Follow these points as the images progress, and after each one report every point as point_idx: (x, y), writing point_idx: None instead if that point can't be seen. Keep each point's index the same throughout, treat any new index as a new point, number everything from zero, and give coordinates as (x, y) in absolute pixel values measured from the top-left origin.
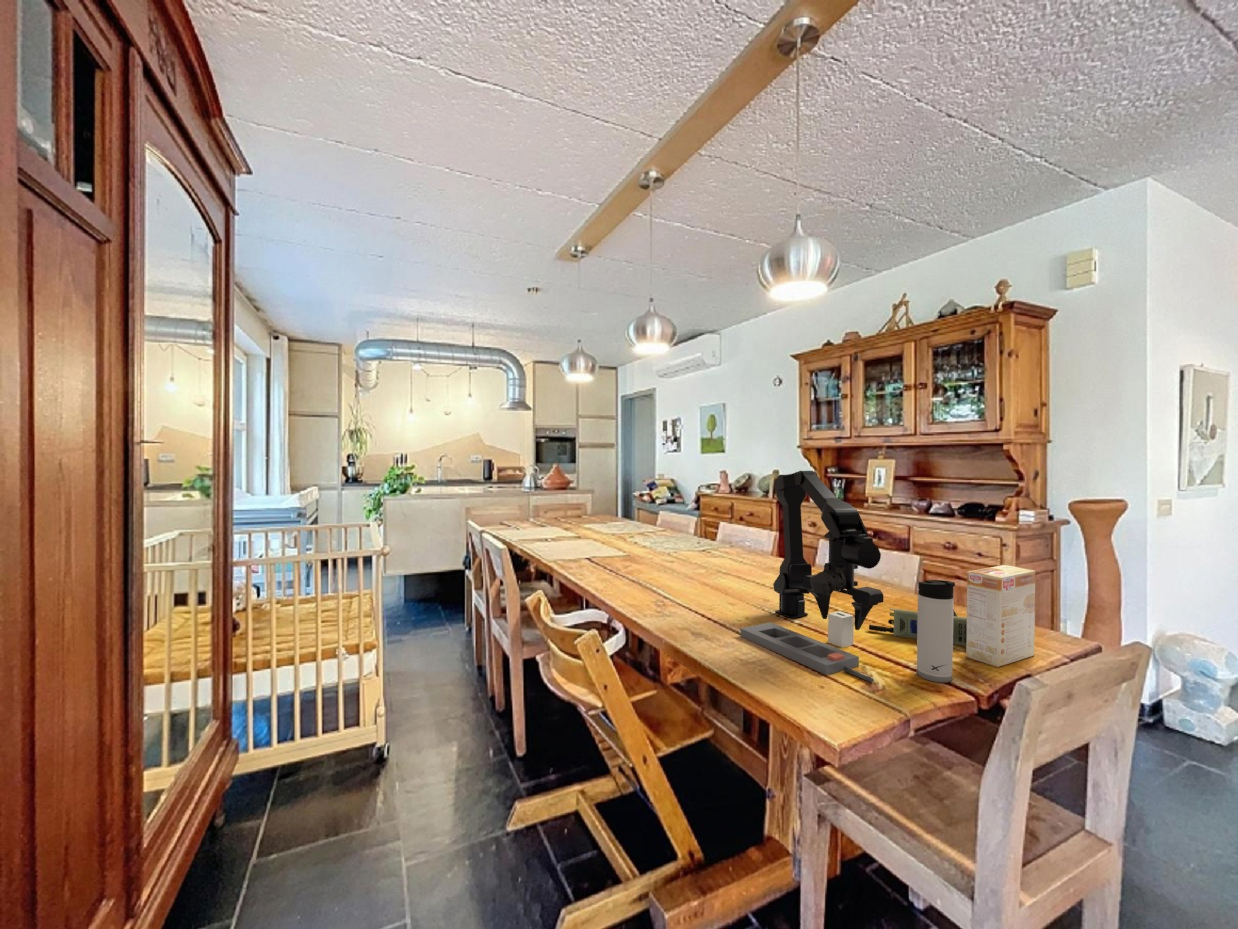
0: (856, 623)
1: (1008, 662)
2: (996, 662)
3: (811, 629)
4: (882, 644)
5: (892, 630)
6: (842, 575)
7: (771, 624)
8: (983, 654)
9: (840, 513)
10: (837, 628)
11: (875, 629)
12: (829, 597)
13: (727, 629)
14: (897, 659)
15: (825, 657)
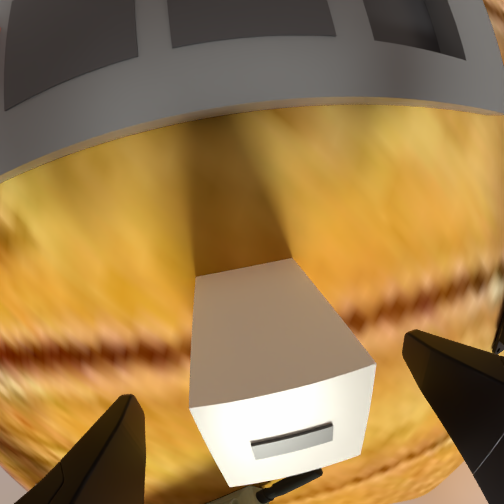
0: (99, 427)
1: None
2: None
3: (438, 292)
4: (189, 439)
5: (258, 497)
6: None
7: (497, 93)
8: None
9: None
10: (238, 325)
11: (297, 474)
12: (476, 469)
13: (496, 5)
14: (44, 383)
15: (6, 21)
